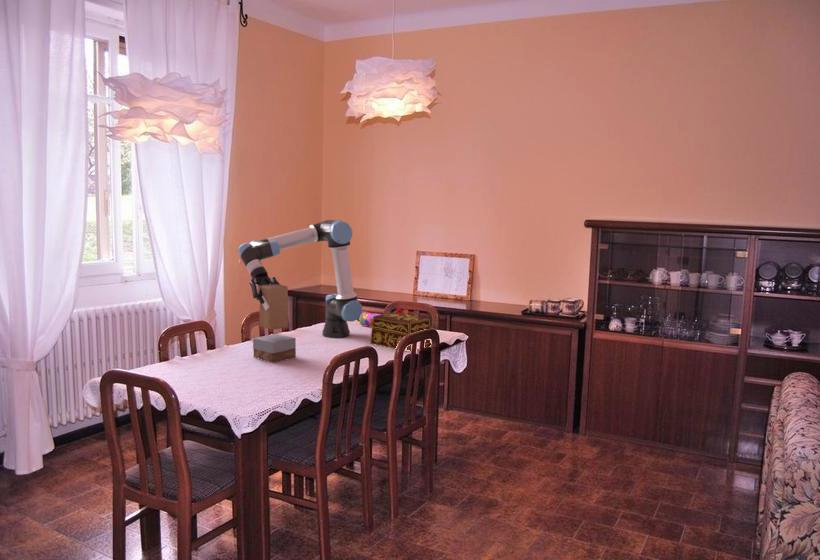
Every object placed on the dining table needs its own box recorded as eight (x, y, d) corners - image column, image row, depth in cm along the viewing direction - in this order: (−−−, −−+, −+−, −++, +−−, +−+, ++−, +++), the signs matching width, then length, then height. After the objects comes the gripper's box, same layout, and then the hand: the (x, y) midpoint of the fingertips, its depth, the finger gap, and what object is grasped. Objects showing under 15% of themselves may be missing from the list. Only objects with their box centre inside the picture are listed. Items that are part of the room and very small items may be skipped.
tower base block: (253, 358, 313) (253, 348, 313) (277, 353, 324) (277, 343, 323) (271, 363, 304) (271, 353, 304) (295, 358, 315) (295, 348, 314)
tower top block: (253, 348, 311) (253, 338, 311) (275, 343, 323) (275, 333, 322) (273, 353, 303) (273, 342, 303) (295, 348, 315) (295, 337, 314)
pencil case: (356, 326, 394) (356, 311, 392) (367, 324, 401) (367, 309, 400) (382, 331, 380) (382, 316, 378) (393, 329, 387) (393, 314, 385)
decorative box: (369, 343, 348) (370, 315, 346) (393, 338, 362) (393, 311, 360) (409, 352, 330) (409, 323, 329) (432, 346, 345) (433, 318, 343)
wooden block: (276, 324, 319) (276, 283, 316) (288, 327, 312) (288, 285, 309) (258, 327, 312) (258, 285, 309) (270, 330, 305) (270, 287, 302)
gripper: (273, 274, 327) (293, 309, 319) (233, 277, 310) (253, 315, 302) (279, 264, 323) (300, 299, 315) (240, 267, 306) (260, 305, 298)
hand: (277, 307), depth 309 cm, fingers closed on wooden block, 10 cm apart
